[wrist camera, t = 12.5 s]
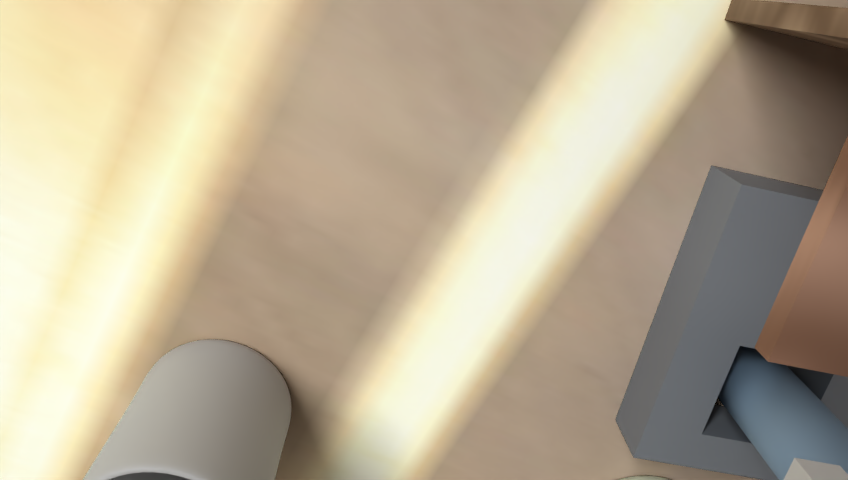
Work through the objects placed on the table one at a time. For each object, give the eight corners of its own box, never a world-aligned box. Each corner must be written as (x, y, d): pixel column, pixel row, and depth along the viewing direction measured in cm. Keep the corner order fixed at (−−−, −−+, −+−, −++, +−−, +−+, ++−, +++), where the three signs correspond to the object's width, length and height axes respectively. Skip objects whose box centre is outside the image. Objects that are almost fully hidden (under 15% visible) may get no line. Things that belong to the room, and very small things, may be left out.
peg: (719, 330, 40) (841, 469, 29) (783, 343, 41) (928, 485, 30) (694, 390, 42) (802, 544, 31) (757, 401, 42) (886, 557, 31)
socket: (711, 165, 37) (741, 184, 34) (918, 211, 38) (967, 234, 35) (615, 419, 42) (633, 457, 39) (799, 452, 44) (832, 491, 40)
